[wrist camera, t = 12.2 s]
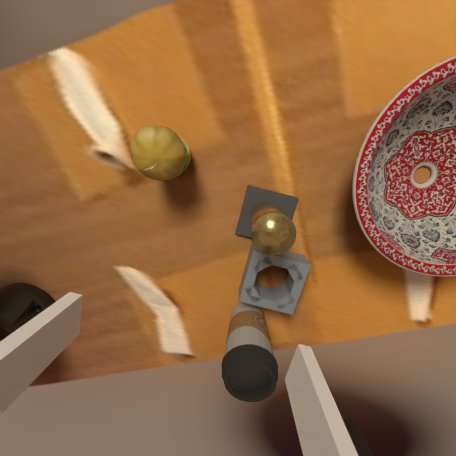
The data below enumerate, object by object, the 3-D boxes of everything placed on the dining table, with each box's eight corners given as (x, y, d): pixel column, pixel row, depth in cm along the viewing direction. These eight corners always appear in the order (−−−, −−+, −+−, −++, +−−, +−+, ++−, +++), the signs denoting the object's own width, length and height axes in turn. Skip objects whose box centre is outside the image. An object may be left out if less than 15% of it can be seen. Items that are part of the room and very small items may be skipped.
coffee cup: (275, 318, 45) (292, 388, 30) (243, 338, 46) (243, 413, 32) (251, 288, 43) (256, 346, 29) (219, 309, 45) (208, 375, 30)
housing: (239, 288, 44) (238, 301, 39) (252, 242, 41) (253, 250, 37) (287, 300, 43) (292, 314, 39) (303, 255, 41) (311, 265, 37)
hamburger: (189, 129, 37) (164, 109, 25) (202, 171, 38) (185, 171, 27) (147, 143, 38) (105, 131, 26) (162, 184, 39) (129, 189, 28)
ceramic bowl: (503, 36, 31) (589, -9, 23) (531, 219, 37) (607, 231, 29) (306, 129, 36) (324, 117, 28) (359, 279, 42) (385, 303, 34)
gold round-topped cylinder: (245, 227, 40) (246, 249, 28) (253, 197, 38) (257, 207, 27) (275, 234, 40) (288, 260, 28) (284, 204, 38) (302, 219, 27)
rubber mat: (235, 232, 41) (235, 233, 40) (247, 185, 38) (248, 185, 38) (282, 244, 41) (282, 245, 40) (297, 197, 38) (298, 198, 38)
